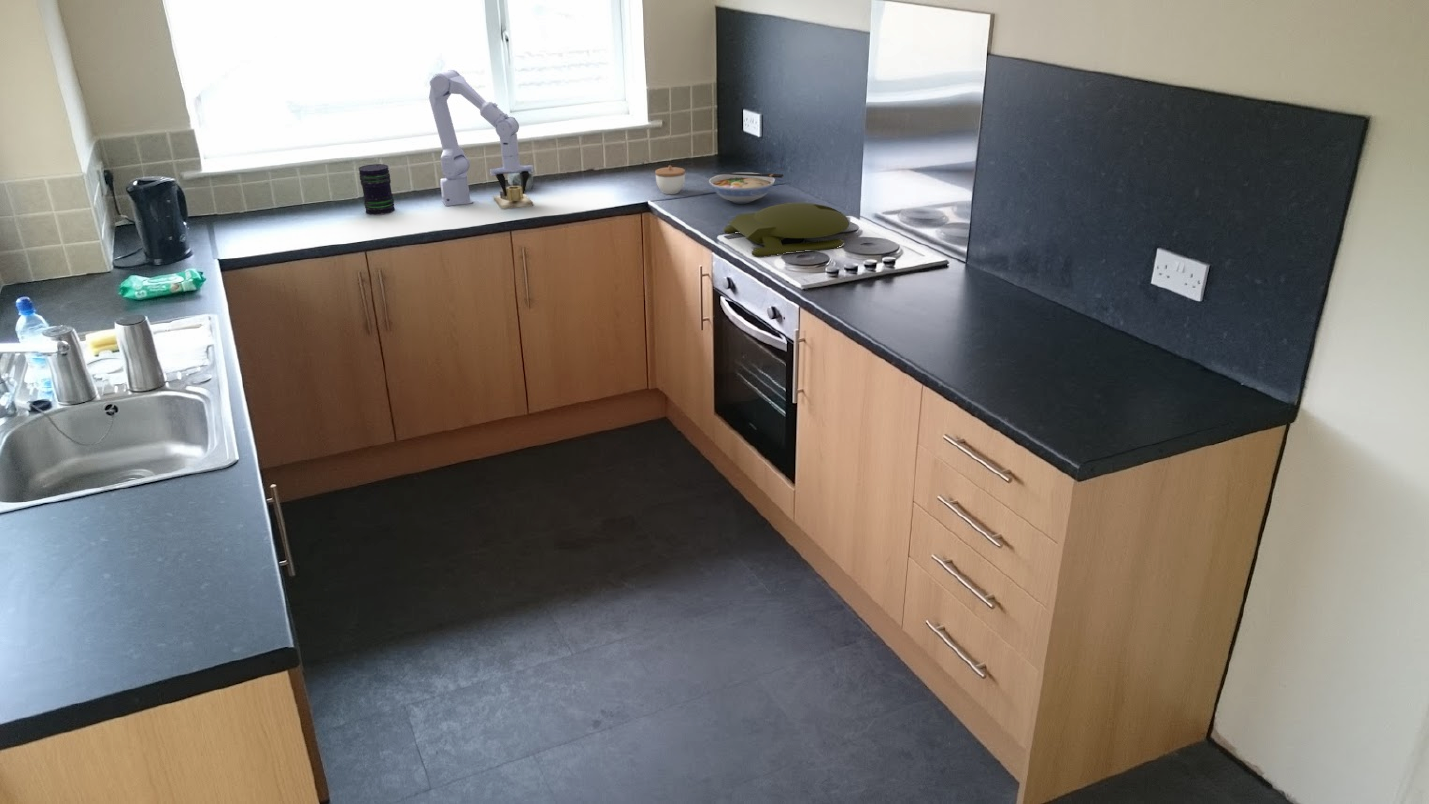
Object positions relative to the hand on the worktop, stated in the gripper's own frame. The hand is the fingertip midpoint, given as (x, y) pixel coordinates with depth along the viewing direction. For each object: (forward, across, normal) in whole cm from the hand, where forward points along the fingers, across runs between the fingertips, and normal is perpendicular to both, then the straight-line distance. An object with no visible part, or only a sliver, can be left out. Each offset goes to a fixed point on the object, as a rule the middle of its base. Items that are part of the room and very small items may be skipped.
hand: (514, 194), depth 355 cm
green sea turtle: (+4, +69, -76) cm, 103 cm away
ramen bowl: (+4, +73, -29) cm, 79 cm away
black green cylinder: (+4, -44, +13) cm, 46 cm away
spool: (+4, +7, +23) cm, 24 cm away
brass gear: (+2, 0, 0) cm, 2 cm away
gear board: (+4, 0, +4) cm, 6 cm away
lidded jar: (+4, +55, -6) cm, 55 cm away
